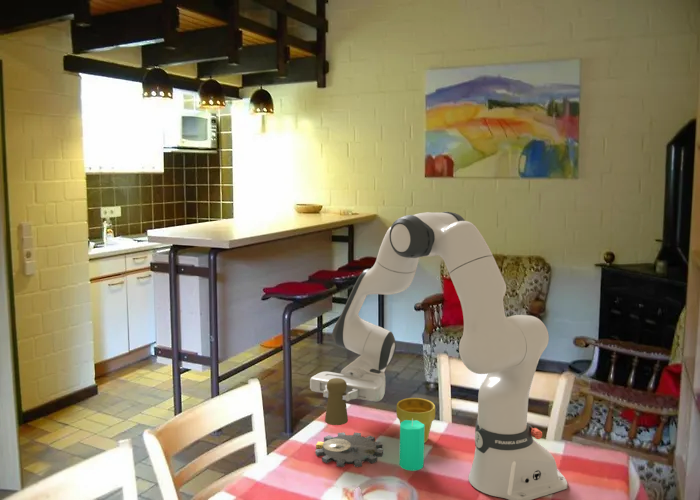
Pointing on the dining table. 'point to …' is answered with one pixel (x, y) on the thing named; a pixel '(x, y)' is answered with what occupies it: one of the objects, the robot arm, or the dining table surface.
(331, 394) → the cork
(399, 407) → the plant pot
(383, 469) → the dining table surface
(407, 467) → the candle
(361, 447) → the sprocket plate
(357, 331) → the robot arm
